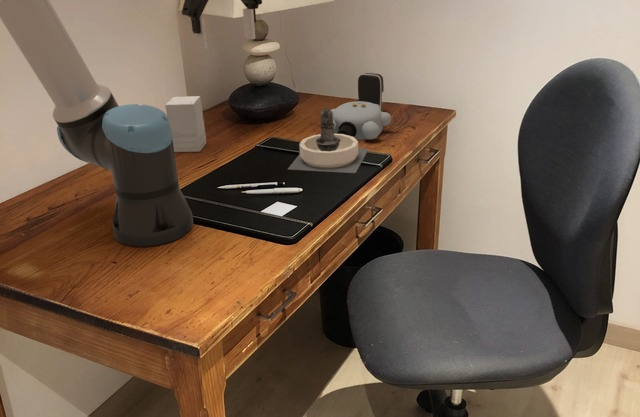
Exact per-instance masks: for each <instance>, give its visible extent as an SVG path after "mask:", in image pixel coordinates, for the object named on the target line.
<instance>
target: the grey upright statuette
mask: <svg viewBox="0 0 640 417" xmlns="http://www.w3.org/2000/svg"><path fill="white" fill-rule="evenodd" d="M334 126H335V124H334V123H333V113H332V111H331V109H329V107H328V105H325V106H324V109H323V110H321V111H320V124H319V128H320V132H321V133H320V134H321V137H320V138H318V139H316V141H315V142H316V143H317V146H318V148H319V149H320V150H321V151H335V150H336V149H337V148H338V146H339V142H340V139H339V138H337V137H335V135H334Z"/></svg>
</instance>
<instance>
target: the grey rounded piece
mask: <svg viewBox="0 0 640 417" xmlns="http://www.w3.org/2000/svg"><path fill="white" fill-rule="evenodd" d="M330 110H331V111H332V113H333V123H334V124H335V126H334V134H344V135H348V136H352V137H354V138H355V139H356V140H357V141H358V140H359V141H360V140H362V141H363V140H374V139H376V138H377V137H378V136H379V135H381V133H382V132H383V127H385V126H388V125H390V124H391V123H392V116H391V114H390V113H389V112H387V111H386V112H385V111H383V110H382V111H381V108H380V106H379V105H378V104H373V103H370V102H361V101H359V100H358V101H350V102H345V103H342V104H340V105H339V106H337V107H336V108H332V109H330Z"/></svg>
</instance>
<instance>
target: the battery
mask: <svg viewBox="0 0 640 417" xmlns="http://www.w3.org/2000/svg"><path fill="white" fill-rule="evenodd" d="M383 92H384V77H383V75H381V74H379V73H374V72H372V73H371V72H364V73H362V74H360V75H359V77H358V78H357V96H358V101H361V102H370V103H373V104H378V105H379V106H380V108H381V111H382V112H383V106H382V105H383V104H382V100H383Z"/></svg>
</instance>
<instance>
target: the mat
mask: <svg viewBox="0 0 640 417" xmlns="http://www.w3.org/2000/svg"><path fill="white" fill-rule="evenodd" d="M368 151H369V148H359V147H358V155H357V157H356V159H355V161H354V162H352V163H351V164H349V165H346V166H343V167H338V168H316V167H312V166H309V165H307V164H305V163H304V161H303V159H302V158H301V157H300V153H299V154H298V155H297V157H296V158H295V159H294V161H292V163H291V164H290V165H289V167H288V168H287V170H291V171H308V172H309V171H311V172H328V173H343V174H344V173H345V174H347V173H348V174H356V173H357V171H358V170H359V167H360V166H361V164H362V162H363V160H364V159H365V157H366V154H367V153H368Z"/></svg>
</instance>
